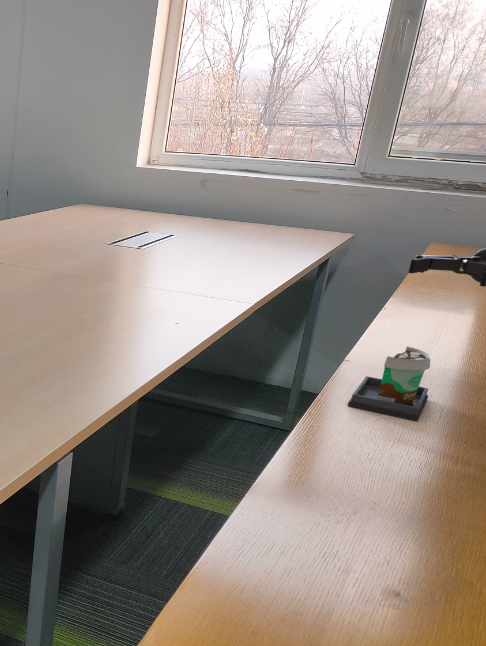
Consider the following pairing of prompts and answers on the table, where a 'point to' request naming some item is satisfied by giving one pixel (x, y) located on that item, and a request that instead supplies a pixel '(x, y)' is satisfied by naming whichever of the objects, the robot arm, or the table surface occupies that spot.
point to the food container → (403, 376)
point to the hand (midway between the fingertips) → (446, 272)
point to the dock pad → (369, 401)
